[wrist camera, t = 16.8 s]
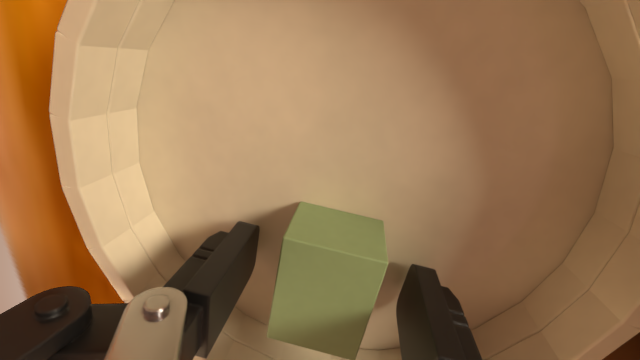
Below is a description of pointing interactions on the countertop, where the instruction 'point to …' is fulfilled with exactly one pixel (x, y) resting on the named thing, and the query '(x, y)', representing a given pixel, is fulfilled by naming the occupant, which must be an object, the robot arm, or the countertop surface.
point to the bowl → (367, 153)
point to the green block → (327, 280)
